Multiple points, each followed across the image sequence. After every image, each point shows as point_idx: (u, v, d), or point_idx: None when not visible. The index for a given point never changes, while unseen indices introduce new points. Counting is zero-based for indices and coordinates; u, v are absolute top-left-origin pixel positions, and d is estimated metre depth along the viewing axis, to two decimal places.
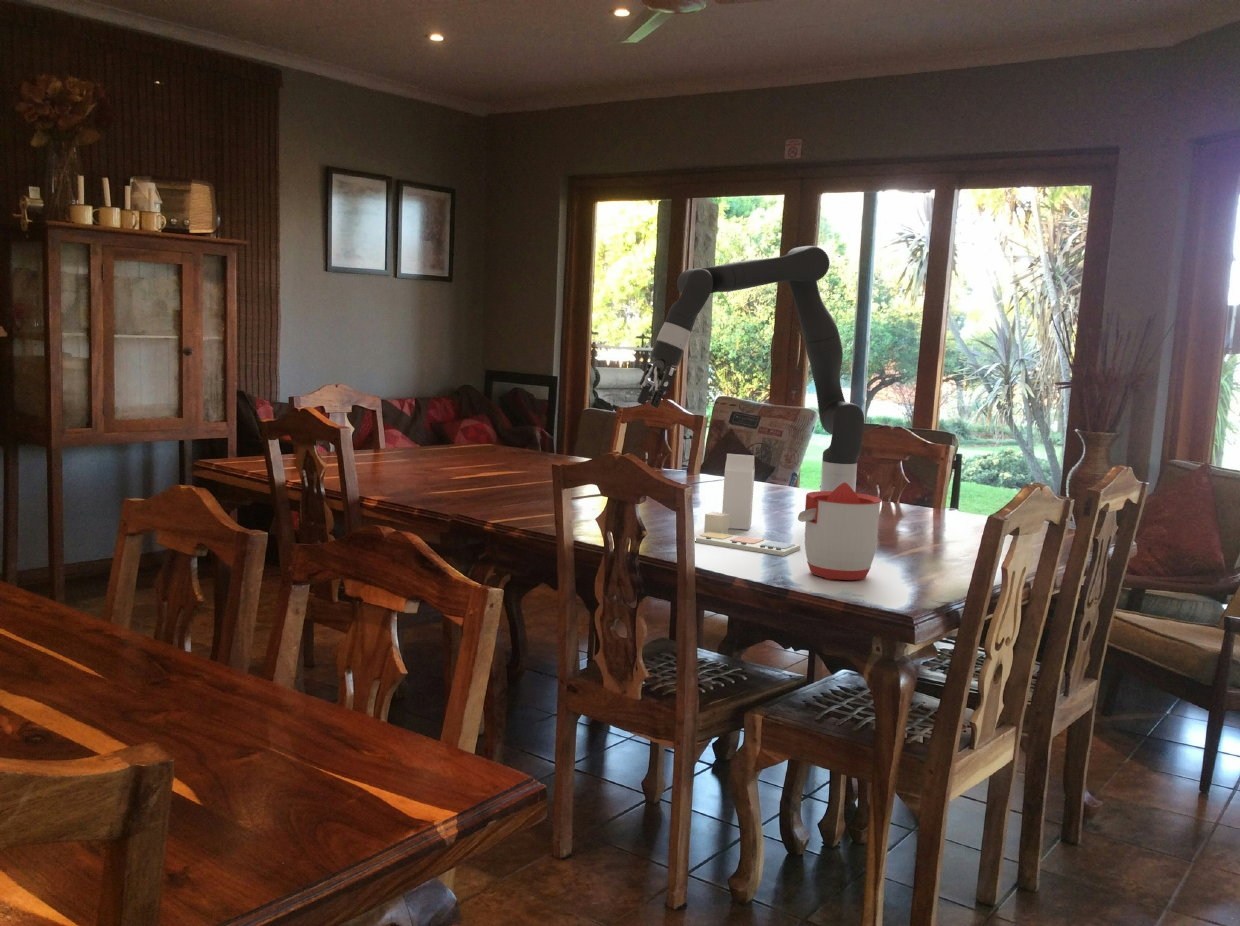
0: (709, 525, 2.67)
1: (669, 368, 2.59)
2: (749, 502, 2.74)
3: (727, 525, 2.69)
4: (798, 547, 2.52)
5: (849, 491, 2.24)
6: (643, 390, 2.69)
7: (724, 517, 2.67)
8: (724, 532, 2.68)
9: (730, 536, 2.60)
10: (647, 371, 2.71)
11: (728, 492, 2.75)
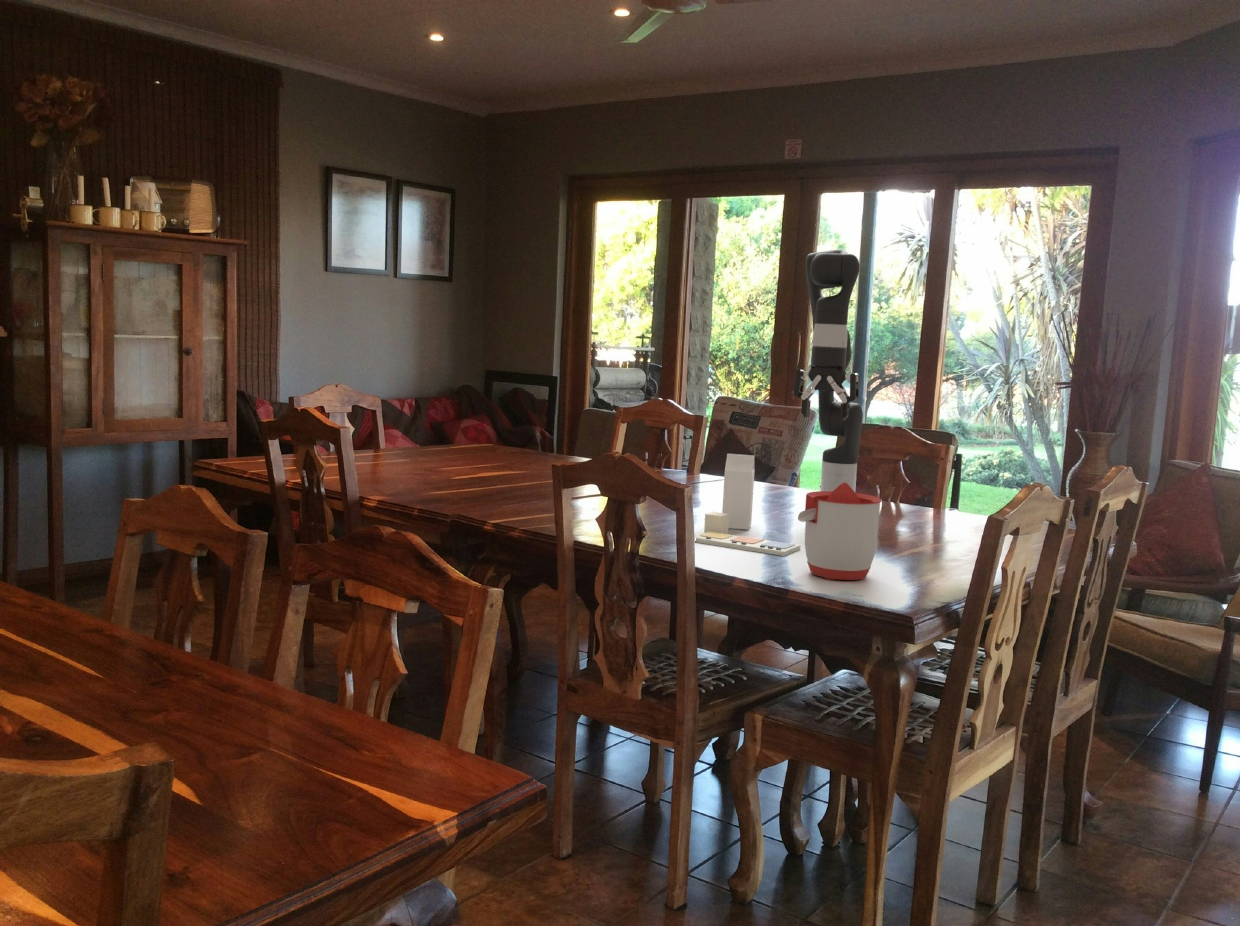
0: (709, 525, 2.67)
1: (856, 375, 2.33)
2: (749, 502, 2.74)
3: (727, 525, 2.69)
4: (798, 547, 2.52)
5: (849, 491, 2.24)
6: (807, 402, 2.39)
7: (724, 517, 2.67)
8: (724, 532, 2.68)
9: (730, 536, 2.60)
10: (801, 379, 2.39)
11: (728, 492, 2.75)
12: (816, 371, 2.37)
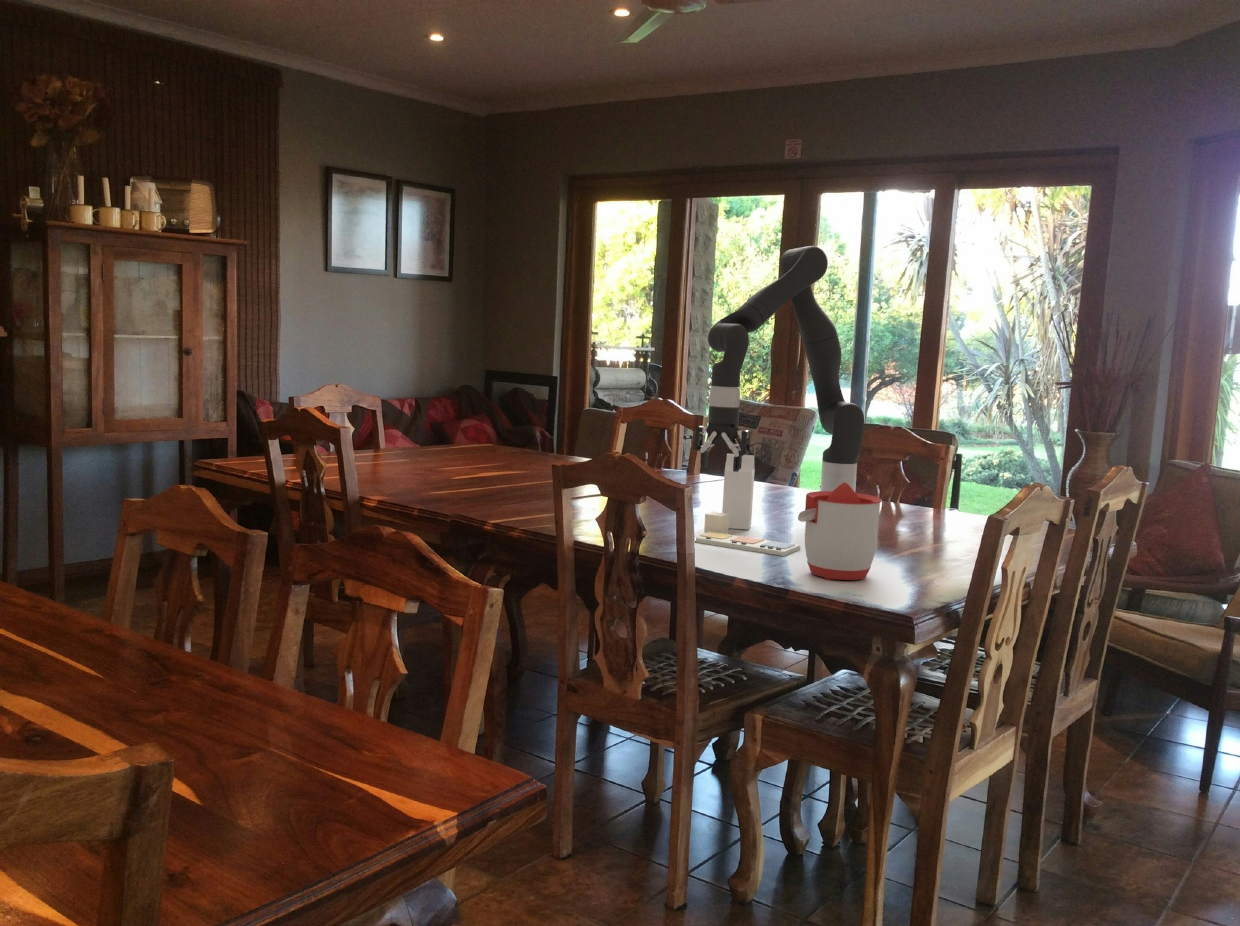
0: (709, 525, 2.67)
1: (746, 432, 2.61)
2: (749, 502, 2.74)
3: (727, 525, 2.69)
4: (798, 547, 2.52)
5: (849, 491, 2.24)
6: (705, 455, 2.68)
7: (724, 517, 2.67)
8: (724, 532, 2.68)
9: (730, 536, 2.60)
10: (700, 434, 2.68)
11: (728, 492, 2.75)
12: (712, 427, 2.66)
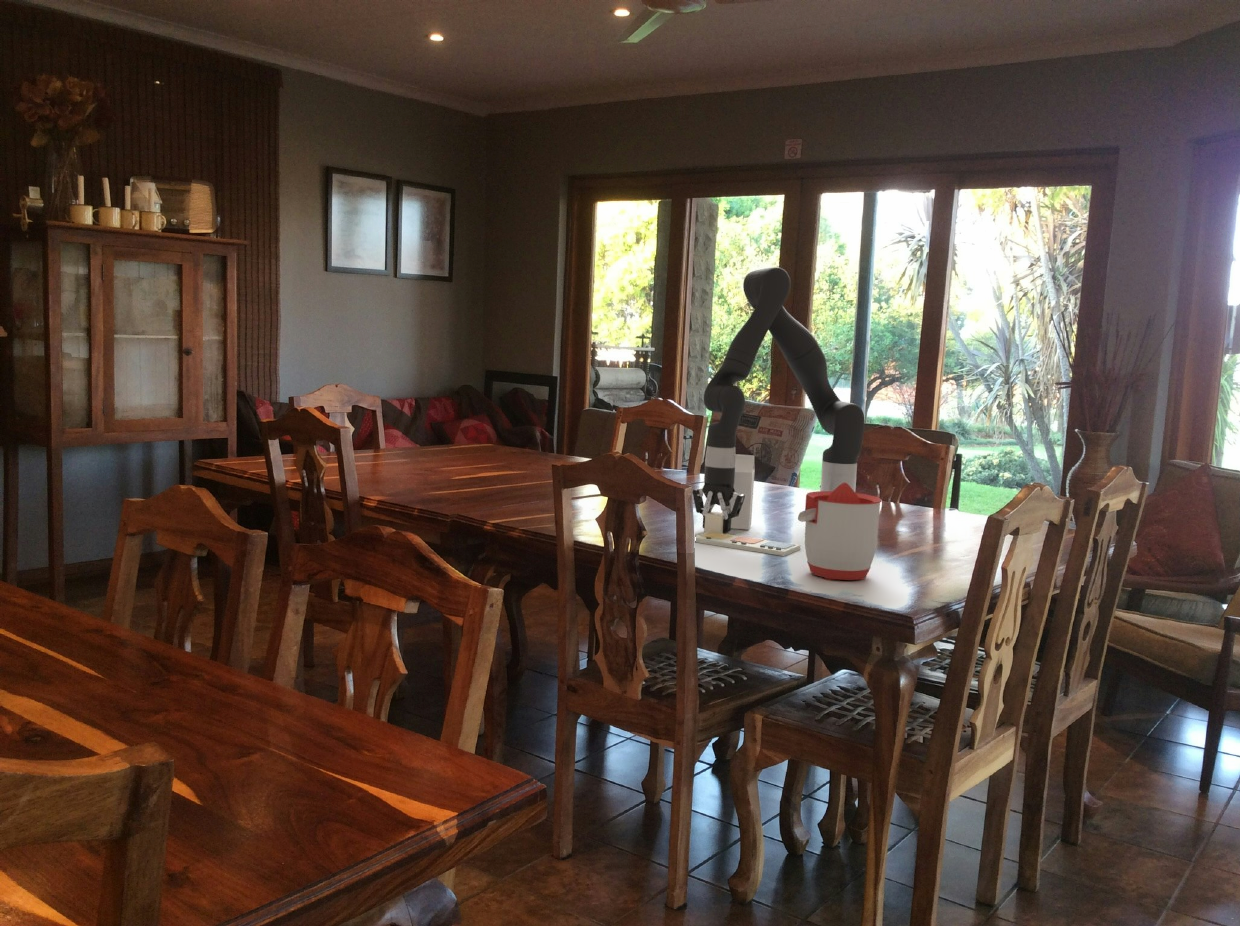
0: (710, 525, 2.67)
1: (741, 498, 2.64)
2: (749, 502, 2.74)
3: None
4: (798, 547, 2.52)
5: (849, 491, 2.24)
6: None
7: None
8: None
9: (730, 536, 2.60)
10: (698, 497, 2.70)
11: None
12: (708, 486, 2.68)
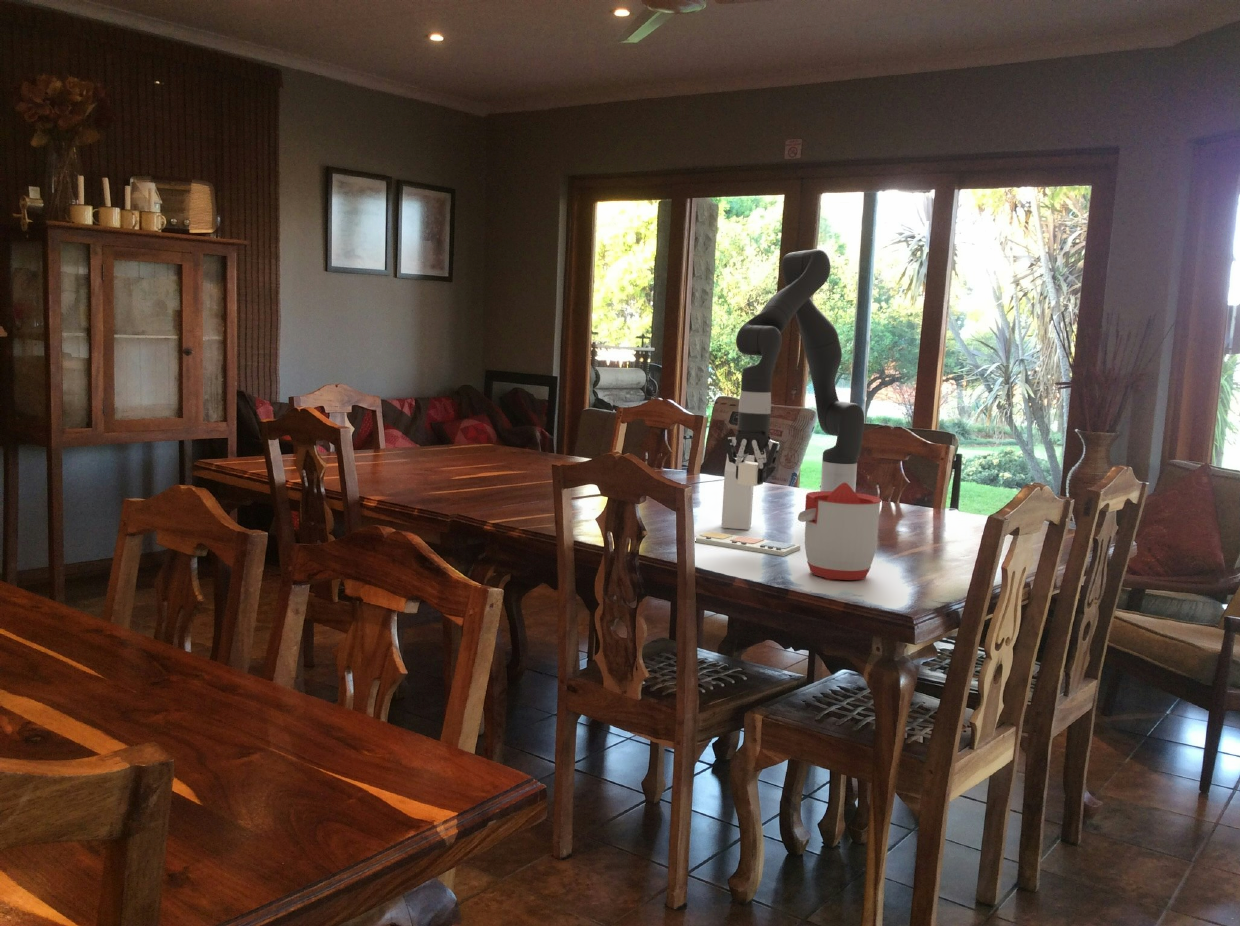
0: (743, 475, 2.52)
1: (777, 445, 2.49)
2: (749, 502, 2.74)
3: None
4: (798, 547, 2.52)
5: (849, 491, 2.24)
6: None
7: None
8: None
9: (730, 536, 2.60)
10: (731, 445, 2.55)
11: (728, 492, 2.75)
12: (741, 434, 2.53)
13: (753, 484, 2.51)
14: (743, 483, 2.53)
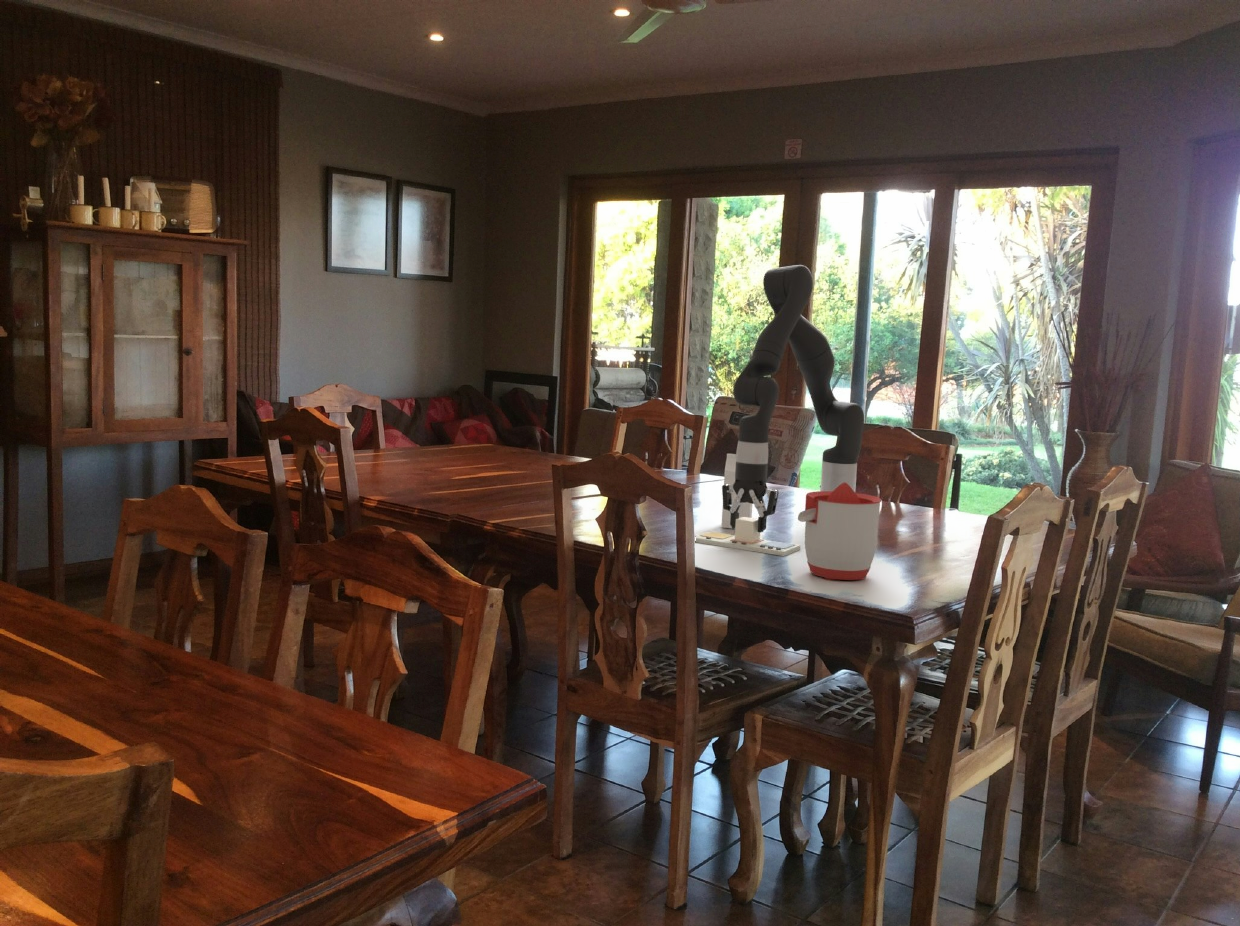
0: (740, 531, 2.54)
1: (775, 493, 2.50)
2: None
3: None
4: (798, 547, 2.52)
5: (849, 491, 2.24)
6: (735, 515, 2.56)
7: (756, 522, 2.54)
8: (756, 538, 2.55)
9: (730, 536, 2.60)
10: (727, 493, 2.56)
11: None
12: (739, 483, 2.54)
13: (750, 540, 2.53)
14: (740, 539, 2.54)
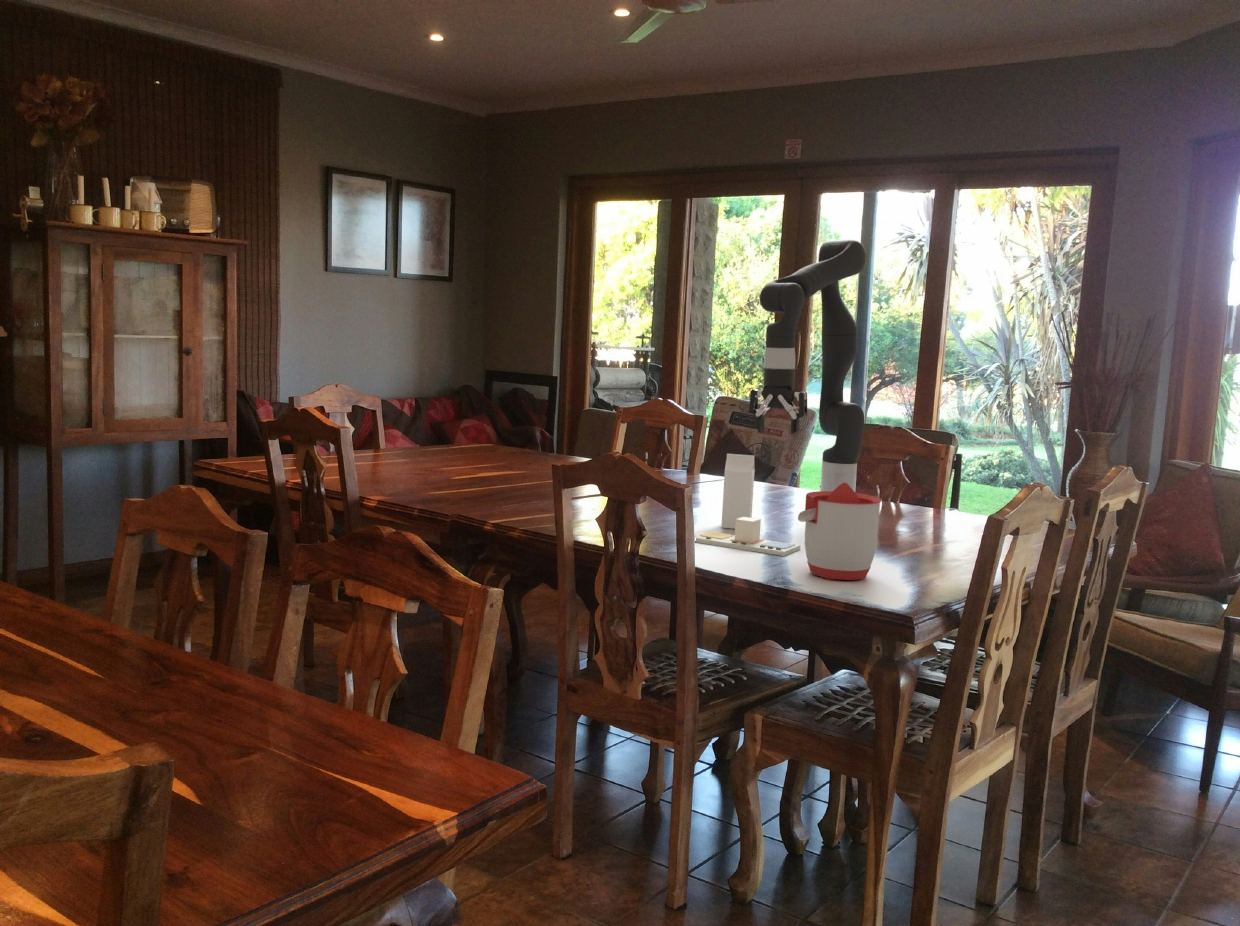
0: (740, 531, 2.54)
1: (804, 394, 2.55)
2: (749, 502, 2.74)
3: (759, 531, 2.56)
4: (798, 547, 2.52)
5: (849, 491, 2.24)
6: (761, 418, 2.62)
7: (756, 522, 2.54)
8: (756, 538, 2.55)
9: (730, 536, 2.60)
10: (755, 398, 2.62)
11: (728, 492, 2.75)
12: (768, 390, 2.60)
13: (750, 540, 2.53)
14: (740, 539, 2.54)
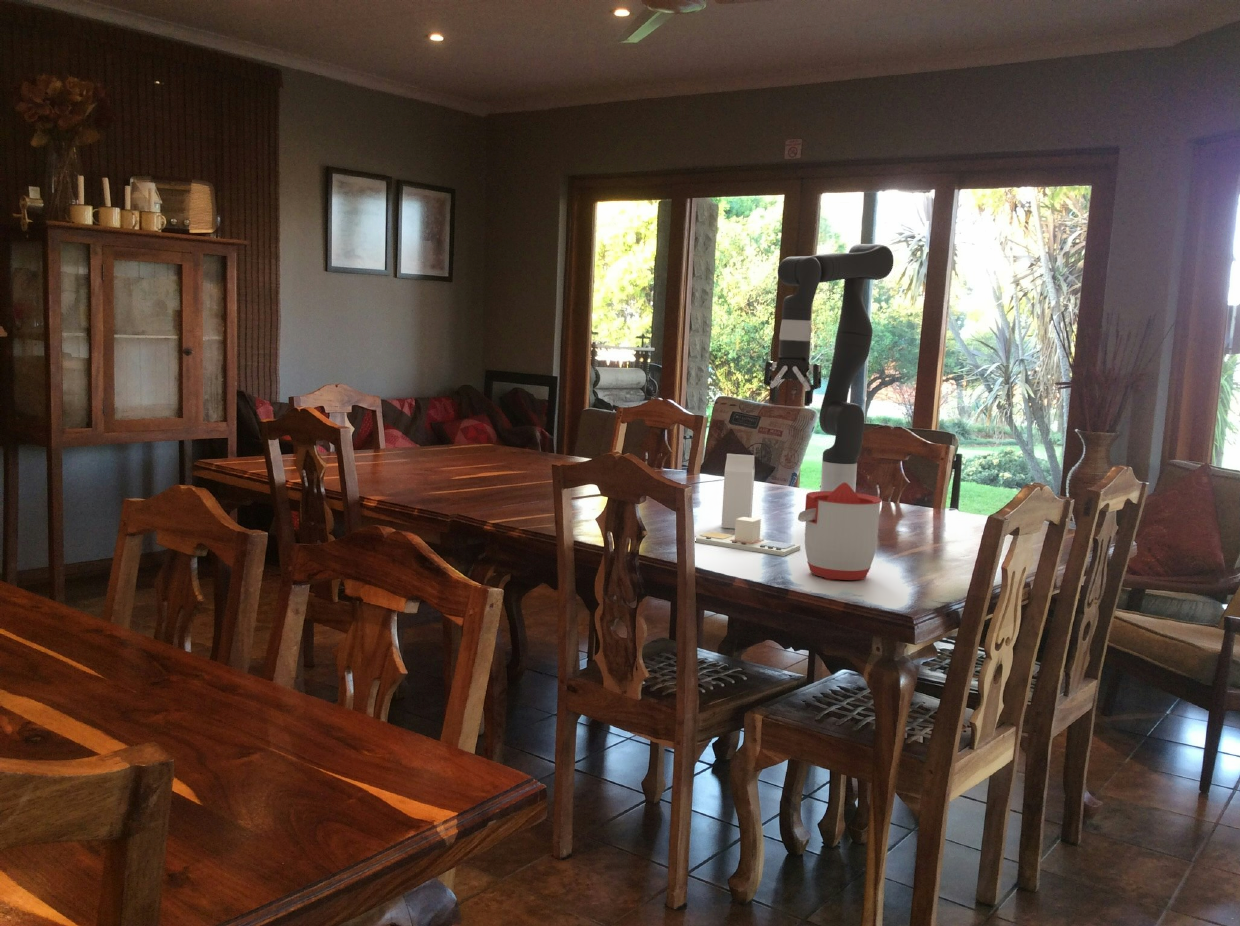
0: (740, 531, 2.54)
1: (818, 366, 2.60)
2: (749, 502, 2.74)
3: (759, 531, 2.56)
4: (798, 547, 2.52)
5: (849, 491, 2.24)
6: (775, 390, 2.66)
7: (756, 522, 2.54)
8: (756, 538, 2.55)
9: (730, 536, 2.60)
10: (769, 369, 2.66)
11: (728, 492, 2.75)
12: (783, 362, 2.64)
13: (750, 540, 2.53)
14: (740, 539, 2.54)
